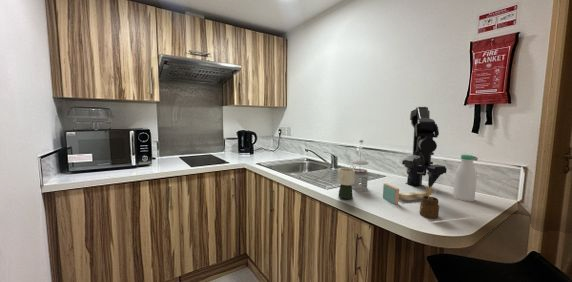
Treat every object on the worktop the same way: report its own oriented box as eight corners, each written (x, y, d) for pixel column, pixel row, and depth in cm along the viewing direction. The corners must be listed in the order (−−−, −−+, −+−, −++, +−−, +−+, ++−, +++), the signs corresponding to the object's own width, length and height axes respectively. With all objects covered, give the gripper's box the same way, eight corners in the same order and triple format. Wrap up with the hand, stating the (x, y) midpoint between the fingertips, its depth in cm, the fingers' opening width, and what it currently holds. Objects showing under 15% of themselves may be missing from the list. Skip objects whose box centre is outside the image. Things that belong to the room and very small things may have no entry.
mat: (423, 195, 108) (423, 194, 108) (437, 201, 101) (437, 200, 100) (389, 197, 104) (390, 196, 104) (402, 204, 96) (402, 203, 96)
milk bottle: (478, 203, 99) (483, 157, 97) (457, 201, 101) (462, 156, 99) (468, 196, 107) (473, 154, 104) (449, 195, 108) (453, 153, 106)
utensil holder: (439, 216, 85) (442, 185, 84) (435, 221, 81) (438, 188, 79) (422, 211, 89) (424, 181, 88) (416, 216, 85) (419, 185, 84)
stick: (424, 196, 105) (424, 191, 105) (428, 198, 103) (429, 193, 102) (398, 198, 102) (398, 193, 102) (402, 200, 99) (402, 195, 99)
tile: (385, 198, 104) (386, 183, 103) (398, 205, 96) (399, 188, 95) (382, 198, 103) (383, 183, 102) (394, 205, 95) (395, 189, 95)
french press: (373, 190, 114) (376, 140, 111) (356, 193, 109) (358, 141, 106) (359, 185, 123) (361, 138, 120) (342, 187, 117) (344, 139, 115)
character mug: (343, 193, 110) (344, 166, 108) (357, 196, 105) (359, 168, 104) (332, 199, 101) (333, 170, 100) (347, 203, 97) (349, 173, 95)
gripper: (393, 147, 108) (391, 179, 110) (426, 153, 90) (423, 192, 92) (413, 146, 110) (411, 178, 112) (449, 152, 92) (445, 190, 94)
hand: (421, 184), depth 102 cm, fingers open, 9 cm apart
